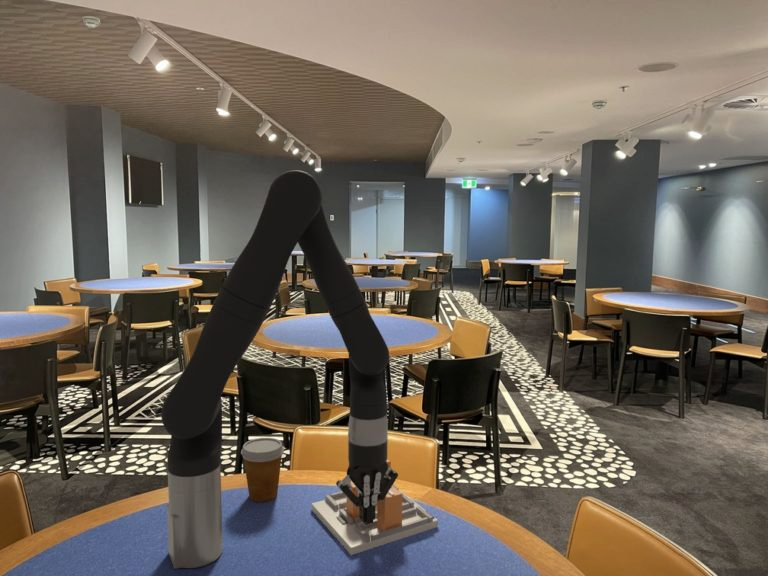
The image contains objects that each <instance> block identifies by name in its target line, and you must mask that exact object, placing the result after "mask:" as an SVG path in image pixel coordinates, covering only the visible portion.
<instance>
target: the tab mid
mask: <svg viewBox="0 0 768 576" xmlns="http://www.w3.org/2000/svg"><path fill="white" fill-rule="evenodd" d="M351 485H352V488H351V489H350V490H351V491H352V492H353V493H354V494H355V496H357V497H358V492H357V490H356V486H355V485H354V483H353V482H352V481H351ZM347 514H348V515H349V516H350V517H351V518H352V519H353V520H354V518H355V517H359V507H357V506H356V505H355V504H354V503H352V502H351V501H350V500H349V498H348V497H347Z"/></svg>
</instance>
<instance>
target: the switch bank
mask: <svg viewBox="0 0 768 576" xmlns="http://www.w3.org/2000/svg"><path fill="white" fill-rule="evenodd" d="M394 487H395V488H396V489H397V490H399V491H400V492H401V493H402V525H400V526H397V527H393V528H390V529H387V530H384V531H383V530H382V529H381V528H380V527H379V526H378V525H377V504H376V506H375V519H374V520H373V523H371V524H368V525H365V524H364V523H363V522H362V521H361V520H360V518H359V517H355V518H354V520H353V519H352V518H351V517H350V516H349V515H348V514H347V496H346V495H345V494H344V493H343V492H342V491H341V490H340V491H337V492H334V493H330V495H329V494H326V495H325V496H324V498H325V499H324V500H319V501H316V502H312V503H311V504H310V505H311V510H310V511H312V513H314V515H315V514H316V515H315V516H316V517H317V518H318V519H319V520H320V521H321V523H322V524H323V525H324V526H325V527H326V529H327V530H329V531H330V533H331V534H332V535H333V537H335V539H336V538H337V542H339V543H340V544H341V545H342V547H343V546H344V547H343V548H344V549H345V550H346V551H347V552H348V554H349V555H350V556H353V555H356V554H359V553H362V552H365V551H368V550H371V549H375V548H378V547H381V546H384V545H387V544H390V543H392V542H396V541H399V540H403V539H405V538H408V537H412V536H414V535H418V534H420V533H424V532H427V531H430V530H433V529H436V528H438V527H439V520H438V519H437V518H436V517H435V516H434V515H432V514H431V513H430V512H429V511H427V510H426V509H425V508H423V506H421V505H420V504H418V503H417V502H416V501H415V500H413V499H412V498H411V497H409V496H408V495H407V494H405V493H404V492H403V491H402V490H401V489H399V488H398V487H396V486H395V485H394V484H393V485H392V487H391V488H394ZM380 545H381V546H380ZM374 547H375V548H374Z"/></svg>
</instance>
